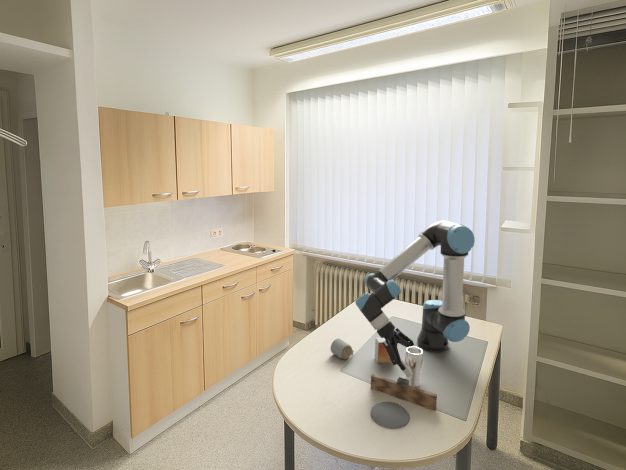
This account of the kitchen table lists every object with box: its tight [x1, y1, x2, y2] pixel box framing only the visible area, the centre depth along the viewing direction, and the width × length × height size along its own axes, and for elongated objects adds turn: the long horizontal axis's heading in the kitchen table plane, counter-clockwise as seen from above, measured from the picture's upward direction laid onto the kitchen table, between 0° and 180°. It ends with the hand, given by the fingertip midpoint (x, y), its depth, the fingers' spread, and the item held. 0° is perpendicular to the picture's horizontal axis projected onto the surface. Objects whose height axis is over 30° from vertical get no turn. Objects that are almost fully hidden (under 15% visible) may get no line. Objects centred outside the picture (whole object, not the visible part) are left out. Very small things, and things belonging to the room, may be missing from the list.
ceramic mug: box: [330, 338, 355, 360], centre depth 179 cm, size 11×8×8 cm
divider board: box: [370, 373, 438, 412], centre depth 147 cm, size 26×2×8 cm, turn 59°
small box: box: [374, 336, 392, 364], centre depth 174 cm, size 8×6×10 cm
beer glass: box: [404, 346, 424, 388], centre depth 156 cm, size 7×7×15 cm
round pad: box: [370, 400, 410, 429], centre depth 138 cm, size 14×14×1 cm
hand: (415, 368), depth 155 cm, fingers open, 13 cm apart
